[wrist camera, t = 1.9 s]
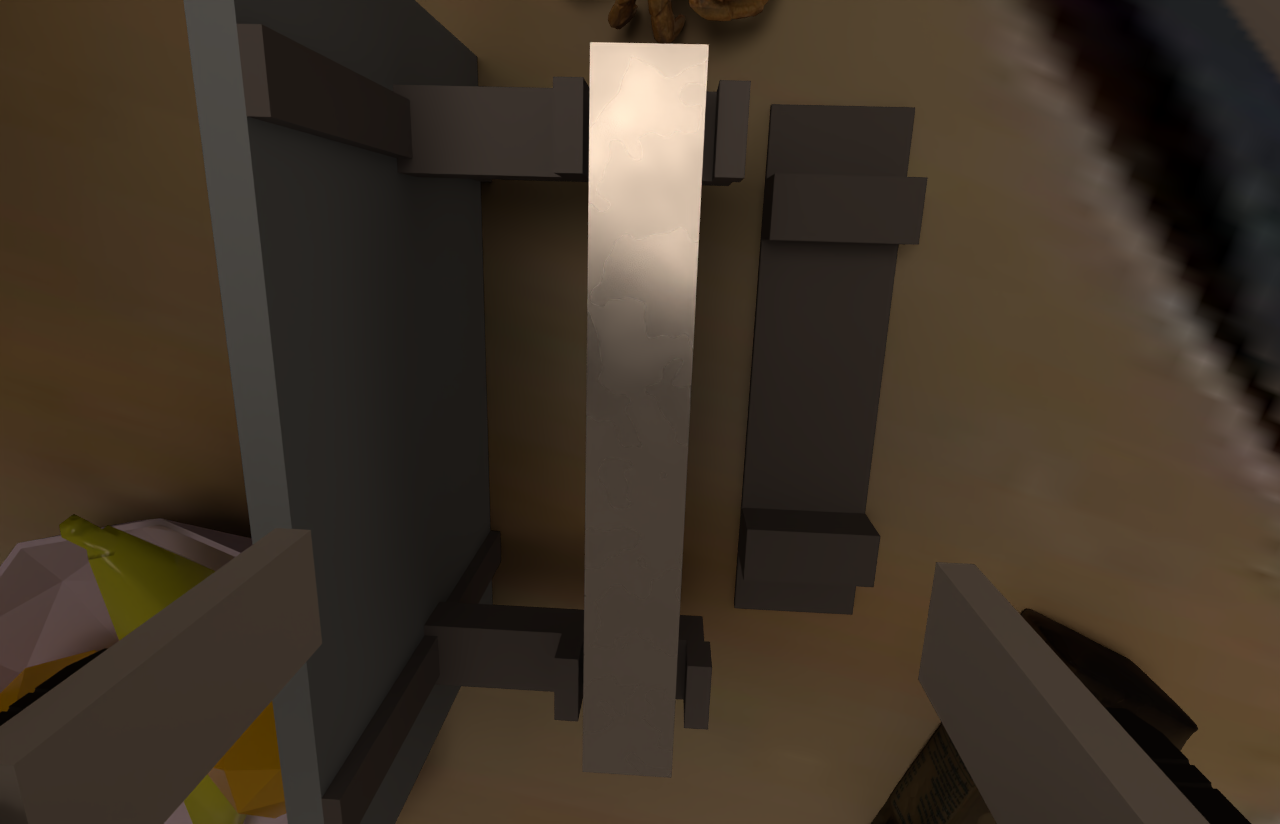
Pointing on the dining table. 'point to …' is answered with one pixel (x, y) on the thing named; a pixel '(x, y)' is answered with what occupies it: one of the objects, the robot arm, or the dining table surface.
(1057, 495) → the dining table surface
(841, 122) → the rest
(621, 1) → the crab model
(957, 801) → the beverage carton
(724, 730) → the dining table surface
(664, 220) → the rail
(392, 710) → the panel
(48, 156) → the dining table surface
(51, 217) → the dining table surface
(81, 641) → the fruit bowl
